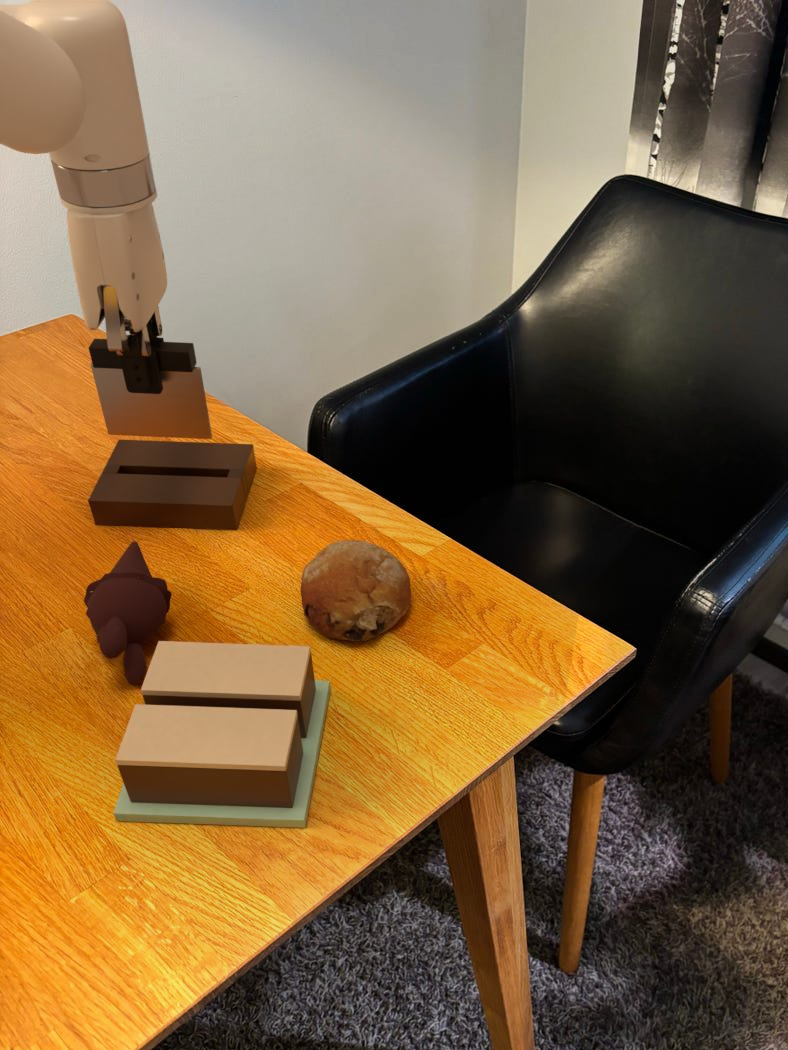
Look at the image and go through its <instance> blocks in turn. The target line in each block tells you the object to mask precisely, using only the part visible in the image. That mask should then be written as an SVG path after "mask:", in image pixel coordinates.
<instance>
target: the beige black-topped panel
mask: <svg viewBox="0 0 788 1050" xmlns="http://www.w3.org/2000/svg"><path fill="white" fill-rule="evenodd" d="M150 346H151V351H154V352H156V355H157V360H158V365H159V370H160V375H161V380H162V385H163V390H162V392H161V393H160V394H145V393H130V392H129V391H128V390H127V388H126V384H125V379H124V375H123V371H122V366H121V362H120V358H119V356H118V355H117V352H116V351H109V350H108V345H107V338H94V339H93V340H92V342H91V343H90V345H89V346H88V351H89V355H90V359H91V360H90V361H91V363H90V368H91V372H92V375H93V380H94V384H95V387H96V392H97V395H98V399H99V403H100V407H101V411H102V415H103V418H104V423H105V427H106V431H107V434H108V435H111V436H128V437H131V436H132V437H153V438H171V439H172V438H175V439H194V440H195V439H196V440H212V439H213V433H212V426H211V421H210V420H211V419H210V415H209V409H208V404H207V398H206V392H205V385H204V381H203V375H202V368H201V366H196V365H197V362H198V361H197V357H196V351H195V345H194V342H181V341H180V342H178V341H177V342H175V341H164V342H159V341H150Z"/></svg>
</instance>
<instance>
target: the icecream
mask: <svg viewBox="0 0 788 1050" xmlns="http://www.w3.org/2000/svg"><path fill="white" fill-rule="evenodd" d="M172 596H173V594H172V592H171V591H170V590H169V589H168V584H167V581H166V580H165V579H163V578H161V577H155V576H152V574H151V571H150V569H149V566H148V564H147V562H146V559H145V557H144V554H143V552H142V549H141V548H140V545H139V543H138V541H133V540H132V541H131V543H130V544H129V545H128V546H127V547H126V549H125V550H124V552H123V553H122V554H121V555H120V558H119V559H118V560H117V562H116V563H115V565H114V566H113V567H112V569H111V570H110V571H109V572H108V573H104V574H103V576H101V578H100V579H98V580H95V581H93V582H91V583H89V585H87V587H86V590H85V596H84V597H83V603H84V605H85V607H86V608H87V609H86V611H85V615H86V617H87V618H88V619H89V622H90V625H91V628H92V629H93V631H94V634H96V640H97V644H99V650H100V652H101V654H102V656H104V657H105V658H107V659H110V660H112V659H117V658H119V657H120V656H121V655H122V654H123V658H122V659H123V660H122V661H123V662H122V667H123V673H124V674H123V675H124V678H125V680H126V682H127V684H128V685H130V686H133V687H134V686H138V685H139V684H140V683H141V682H142V681H144V680H145V676H146V672H147V663H146V656H145V655H146V654H145V651H144V649H143V646H142V645H144V644H147V643H149V642H150V641H151V640H152V639H153V638H154V636H155V635H156V634H157V633H158V632H159V631H160V629H161V628H162V627H163V626H164V624H165V623H166V619H167V616H168V613H169V611H170V610H171V599H172Z"/></svg>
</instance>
